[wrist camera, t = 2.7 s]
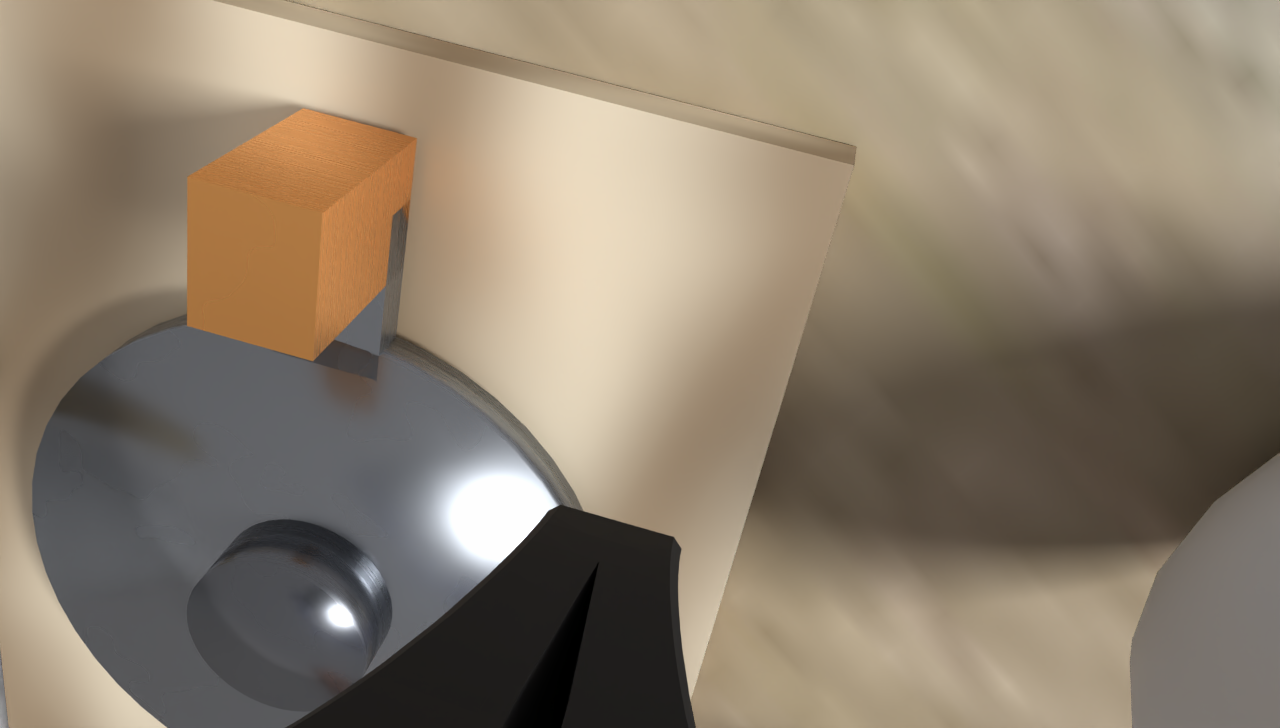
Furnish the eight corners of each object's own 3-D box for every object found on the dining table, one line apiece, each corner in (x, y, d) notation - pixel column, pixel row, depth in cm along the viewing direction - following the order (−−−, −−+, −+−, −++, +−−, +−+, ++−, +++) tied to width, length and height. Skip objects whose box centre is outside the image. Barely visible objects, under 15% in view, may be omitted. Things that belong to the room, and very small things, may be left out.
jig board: (856, 147, 19) (844, 256, 15) (612, 949, 30) (565, 1142, 26) (-83, -94, 20) (-337, -56, 16) (9, 758, 31) (-128, 913, 27)
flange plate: (709, 214, 19) (671, 307, 15) (555, 842, 26) (509, 988, 23) (25, 34, 20) (-141, 88, 16) (70, 692, 27) (-37, 813, 24)
